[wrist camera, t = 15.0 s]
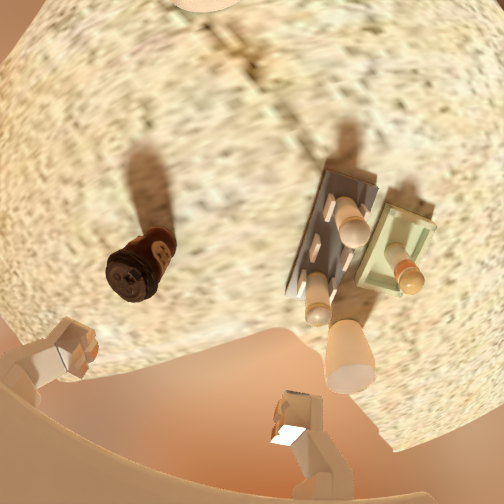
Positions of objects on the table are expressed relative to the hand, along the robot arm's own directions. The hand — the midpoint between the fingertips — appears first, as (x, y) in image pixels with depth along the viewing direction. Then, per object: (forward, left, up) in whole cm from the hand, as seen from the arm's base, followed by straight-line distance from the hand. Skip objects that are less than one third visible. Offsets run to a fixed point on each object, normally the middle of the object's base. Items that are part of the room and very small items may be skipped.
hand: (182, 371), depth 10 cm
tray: (+6, +23, -34) cm, 41 cm away
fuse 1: (+14, +12, -33) cm, 38 cm away
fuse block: (+8, +12, -34) cm, 37 cm away
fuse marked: (+6, +23, -33) cm, 41 cm away
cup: (+25, +22, -34) cm, 48 cm away
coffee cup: (+16, -15, -34) cm, 41 cm away
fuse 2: (+1, +12, -33) cm, 35 cm away
